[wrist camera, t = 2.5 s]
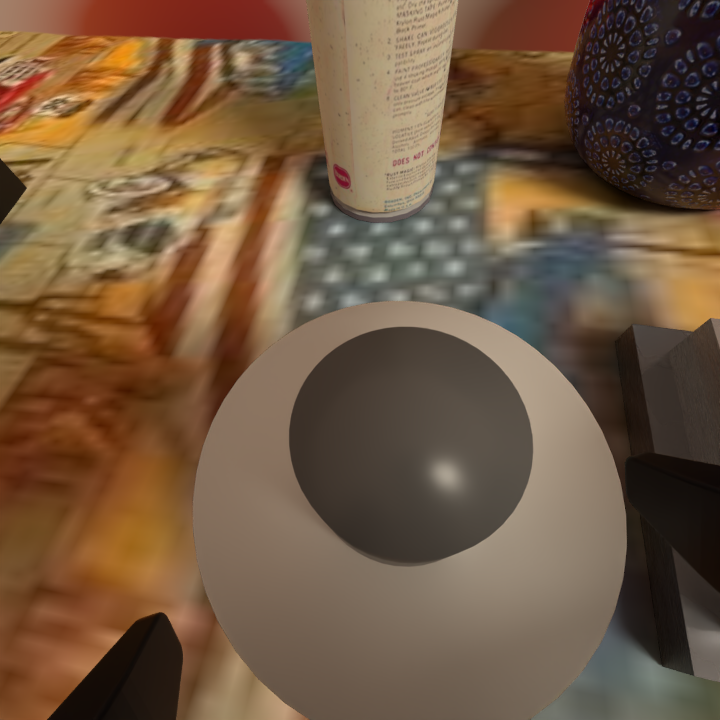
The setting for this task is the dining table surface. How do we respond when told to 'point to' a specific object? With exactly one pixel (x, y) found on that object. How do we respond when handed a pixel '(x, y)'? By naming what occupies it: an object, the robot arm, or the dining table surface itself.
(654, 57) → the planter
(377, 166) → the aerosol can
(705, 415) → the grey square tray
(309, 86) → the dining table surface
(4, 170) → the food platter
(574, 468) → the white bottle
